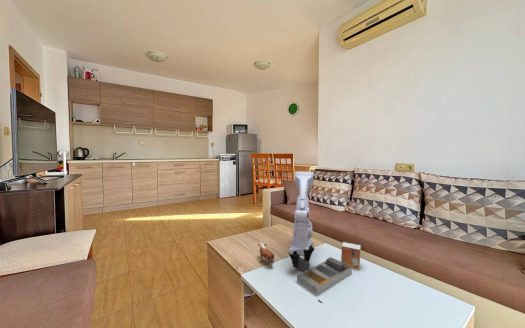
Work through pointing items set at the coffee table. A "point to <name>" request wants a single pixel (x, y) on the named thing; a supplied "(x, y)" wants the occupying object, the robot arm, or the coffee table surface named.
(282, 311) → the coffee table surface
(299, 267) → the dark grey block piece
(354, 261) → the small box
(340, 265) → the dark grey rectangular block
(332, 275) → the rack
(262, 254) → the bull figurine
